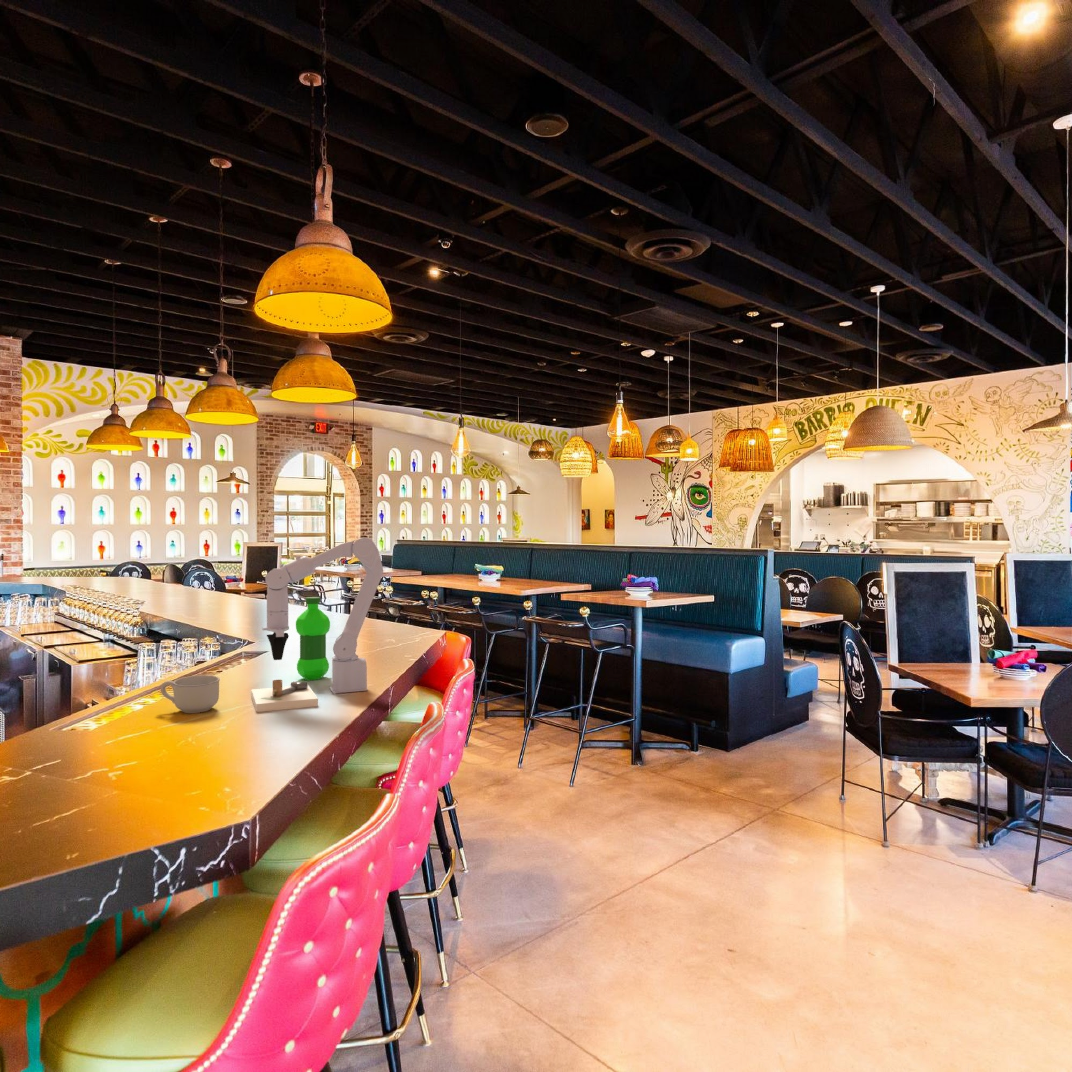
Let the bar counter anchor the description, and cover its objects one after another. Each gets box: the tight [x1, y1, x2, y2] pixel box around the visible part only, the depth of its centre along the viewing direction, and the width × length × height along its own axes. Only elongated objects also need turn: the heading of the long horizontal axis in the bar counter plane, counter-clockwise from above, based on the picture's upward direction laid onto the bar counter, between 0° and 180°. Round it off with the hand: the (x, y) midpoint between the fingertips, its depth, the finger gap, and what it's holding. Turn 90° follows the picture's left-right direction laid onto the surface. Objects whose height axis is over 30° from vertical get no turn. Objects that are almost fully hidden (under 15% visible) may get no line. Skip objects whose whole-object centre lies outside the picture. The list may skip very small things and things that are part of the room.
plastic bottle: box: [295, 596, 331, 681], centre depth 227 cm, size 10×10×25 cm
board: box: [250, 684, 319, 713], centre depth 195 cm, size 15×19×2 cm
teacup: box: [160, 674, 220, 714], centre depth 185 cm, size 14×11×8 cm
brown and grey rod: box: [271, 679, 309, 698], centre depth 196 cm, size 15×4×4 cm, turn 165°
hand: (277, 659), depth 205 cm, fingers closed
